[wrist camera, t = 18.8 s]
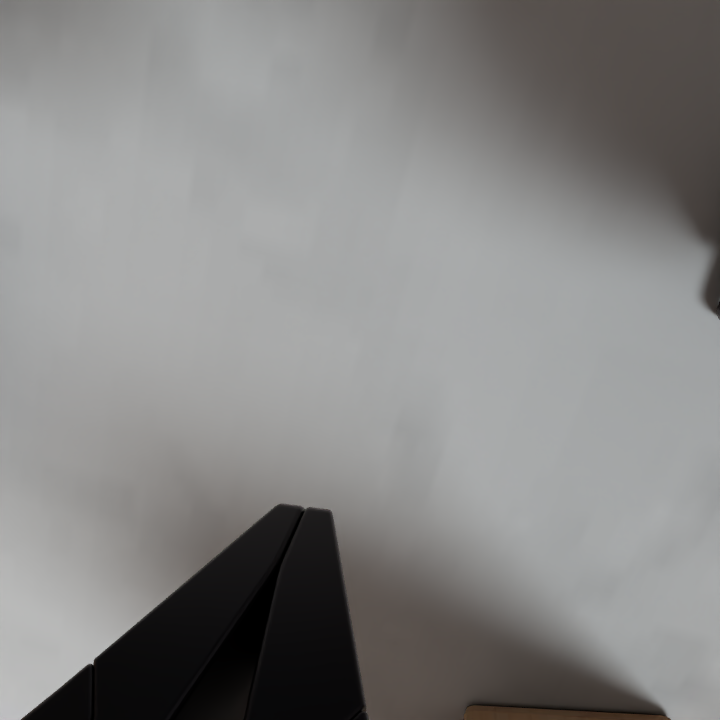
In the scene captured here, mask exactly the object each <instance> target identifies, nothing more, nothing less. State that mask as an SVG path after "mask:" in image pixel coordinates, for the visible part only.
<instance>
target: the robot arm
mask: <svg viewBox="0 0 720 720" xmlns="http://www.w3.org/2000/svg"><path fill="white" fill-rule="evenodd" d="M717 316H718V318H719V319H720V302H719V305H718V308H717ZM21 720H369V718H368V714H367V713H366V703H365V697H364V691H363V685H362V680H361V674H360V668H359V663H358V657H357V651H356V645H355V640H354V634H353V628H352V622H351V617H350V611H349V605H348V599H347V594H346V588H345V582H344V576H343V571H342V565H341V559H340V553H339V548H338V542H337V536H336V531H335V525H334V519H333V514H332V512H331V511H330V510H327V509H320V508H312V507H309V508H307V509H304V508H303V507H302V506H297V505H289V504H279V505H277V506H275V507H274V508H273V509H272V510H271V511H269V512H268V513H267V514H266V515H265V516H263V517H262V518H261V519H260V520H259V521H257V522H256V523H255V524H254V525H253V526H252V527H250V528H249V529H248V530H247V531H246V532H244V533H243V534H242V535H241V536H240V537H239V538H237V539H236V540H235V541H234V542H233V543H231V544H230V545H229V546H228V547H227V548H226V549H224V550H223V551H222V552H221V553H220V554H218V555H217V556H216V557H215V558H214V559H212V560H211V561H210V562H209V563H208V564H207V565H205V566H204V567H203V568H202V569H201V570H199V571H198V572H197V573H196V574H195V575H194V576H192V577H191V578H190V579H189V580H188V581H186V582H185V583H184V584H183V585H182V586H181V587H179V588H178V589H177V590H176V591H175V592H173V593H172V594H171V595H170V596H169V597H167V598H166V599H165V600H164V601H163V602H162V603H160V604H159V605H158V606H157V607H156V608H154V609H153V610H152V611H151V612H150V613H149V614H147V615H146V616H145V617H144V618H143V619H141V620H140V621H139V622H138V623H137V624H136V625H134V626H133V627H132V628H131V629H130V630H128V631H127V632H126V633H125V634H124V635H122V636H121V637H120V638H119V639H118V640H117V641H115V642H114V643H113V644H112V645H111V646H109V647H108V648H107V649H106V650H105V651H104V652H102V653H101V654H100V655H99V656H98V657H96V658H95V660H94V664H93V665H92V664H88V665H87V666H85V667H84V668H83V669H82V670H81V671H79V672H78V673H77V674H76V675H75V676H74V677H72V678H71V679H70V680H69V681H68V682H66V683H65V684H64V685H63V686H62V687H60V688H59V689H58V690H57V691H56V692H54V693H53V694H52V695H51V696H49V697H48V698H47V699H46V700H44V701H43V702H42V703H41V704H39V705H38V706H37V707H36V708H35V709H33V710H32V711H31V712H30V713H28V714H27V715H26V716H25V717H23V718H22V719H21Z"/></svg>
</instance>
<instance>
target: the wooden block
mask: <svg viewBox="0 0 720 720" xmlns="http://www.w3.org/2000/svg"><path fill="white" fill-rule="evenodd" d="M464 720H671V719H670V718H668V717H665V716H660V715H642V714H623V713H605V712H587V711H569V710H551V709H532V708H514V707H496V706H478V705H472V706H469V707H467V709H466V712H465V714H464Z"/></svg>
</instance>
